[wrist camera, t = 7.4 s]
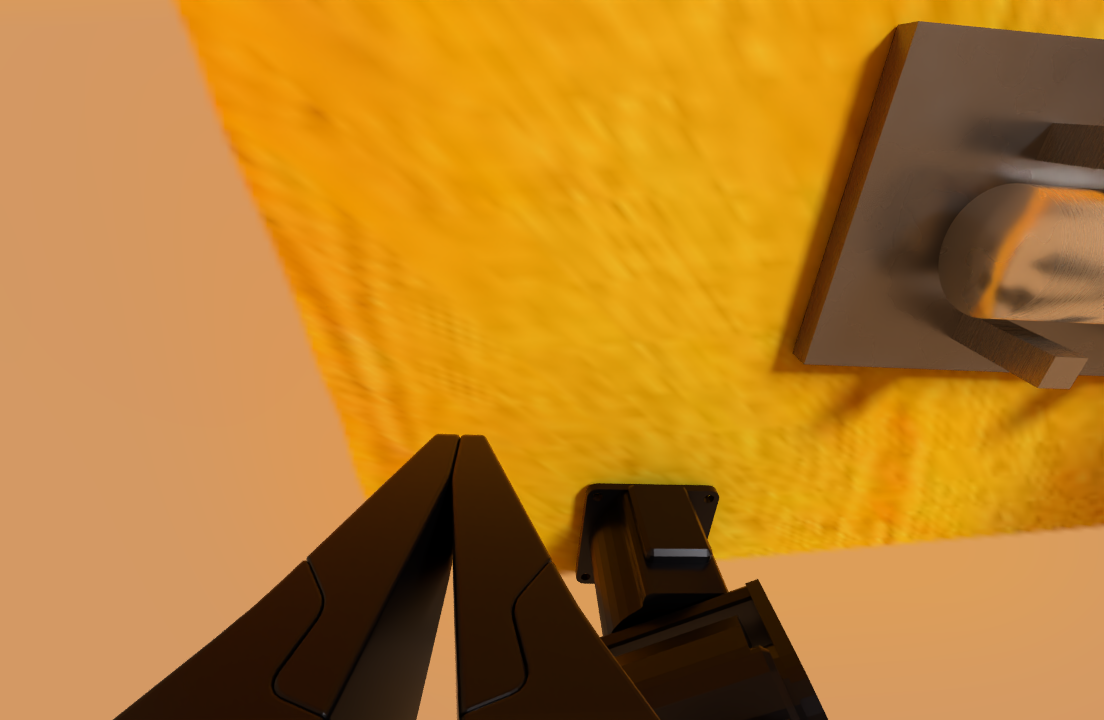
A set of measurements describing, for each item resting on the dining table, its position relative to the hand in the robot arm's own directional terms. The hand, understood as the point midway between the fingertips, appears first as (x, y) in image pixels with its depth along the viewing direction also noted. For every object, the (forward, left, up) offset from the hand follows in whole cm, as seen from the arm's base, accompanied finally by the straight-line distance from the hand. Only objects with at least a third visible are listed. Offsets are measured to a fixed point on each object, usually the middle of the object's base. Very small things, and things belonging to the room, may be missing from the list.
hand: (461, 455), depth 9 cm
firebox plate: (+3, -23, -12) cm, 26 cm away
